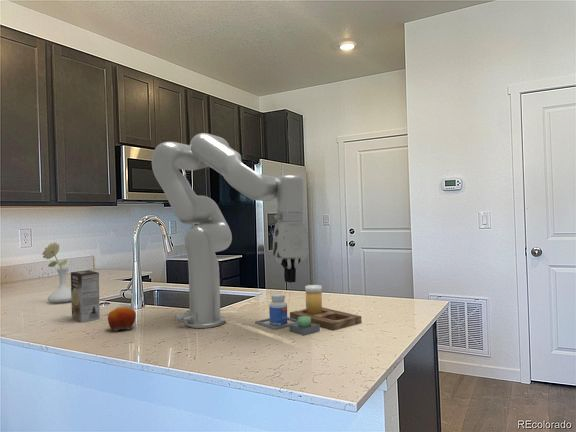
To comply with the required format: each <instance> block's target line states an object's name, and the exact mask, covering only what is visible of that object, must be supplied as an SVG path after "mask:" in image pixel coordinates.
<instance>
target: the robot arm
mask: <svg viewBox="0 0 576 432" xmlns="http://www.w3.org/2000/svg"><path fill="white" fill-rule="evenodd" d="M151 157H152V158H151V168H152V171H153V175H154V177H155V180H156V181H157V183H158V184H159V186H160V187H161V189H162V190H163V192H164V194H165V197H166V199H167V201H168V203H169V204H170V207H171V209H172V211H173V213H174V215H175V216H176V218H177V220H178V221H179V222H180V223H182V224H184V225H192V226H191V227H190V228H189V229H188V230H187V231H186V233H185V236H184V246H185V249H186V250H185V251H186V256H187V265H188V267H187V268H188V291H189V292H188V295H189V296H188V297H189V309H186V312H184V313H183V314H177V315H175V316H174V320H175V322H184V325H185V326H186V327H187V328H191V329H192V328H193V329H206V328H213V327H218V326H222V325H224V324H225V323H226V317H225V316H222V315H221V291H220V289H221V288H220V287H221V286H220V285H221V283H220V265H219V260H218V257H217V255H216V253H218V252H222V251H225V250H227V249H228V248H229V247H230V245H231V244H232V241H233V236H232V231H231V229H230V226H229V224H228V222H227V221H226V219H225V217H224V215H223V213H222V211H221V209H220V207H219V206H218V204H217V203H216V201H215V200H213V199H212V198H211V197H210V196H209V197H208V196H206V195H197V194H196V191H194V189H193V188H192V185H191V184H190V182H189V180H188V178H186V176H185V175H184V174H183V173H181V171H180V170H184V171H197V170H201V169H204V168H208V167H210V168H211V169H213V170H214V171H216V172H217V173H219V174H220V175H221V176H223V179H224V180H225V181H226V182H227V183H228V184H229V185H230V186H231V187H232V188H233V189H235V190H236V191H237V192H239V193H240V194H242V195H244V196H245V197H247V198H248V199H250V200H252V201H259V202H260V201H261V202H275V201H277V202H276V205H277V206H276V207H277V209H276V210H277V211H276V212H277V213H276V214H274V217H273V218H274V219H275V220H276V221H277V223H275V224H274V230H273V237H272V255H273V256H274V258H273V261H274V262H275V263H276V264H277V263H278V264H280V265H281V267H282V268H283V271H284V272H283V273H284V274H283V275H284V276H283V277H284V282H286V283H289V284H291V283H296V282H297V281H296V279H297V272H296V271H297V270H296V269H297V268H298V266H299V264H300V262H303V261H305V260H306V257H307V256H308V255H309V237H308V236H309V235H308V229H307V224H306V223H305V222H304V178H303V177H302V176H301V175H293V174H292V175H291V174H289V175H288V174H286V175H280V176H279V177H278V176H272V175H266V174H260V173H259V172H257V171H255V170H253V169H252V168H250V167H249V166H247V165H246V164H244V163H243V162H242V155H241V153H239V152H238V151H236V150H234V149H233V148H232V147H230V144H229V143H228V141H227V140H226V139H225V138H223V137H220V136H218V135H215V134H212V133H208V132H206V133H205V132H201V133H197V134H195V135H194V136H193V137H192V139H191V140H190V143H189V144H185V143H181V142H176V141H165V142H161V143H159V144H158V145H157V146H156V147H155V148H154V150H153V153H152V156H151Z"/></svg>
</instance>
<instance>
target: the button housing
mask: <svg viewBox="0 0 576 432" xmlns="http://www.w3.org/2000/svg"><path fill="white" fill-rule="evenodd" d="M293 323H294V322H293ZM289 324H290V323H289ZM289 326H290V327H289V332H291V333H294V334H298V335H300V336H307V335H310V334H312V335H313V334H315V333H318V332H320V331H321V327H320V325H319V324H315V323H312V322H311V325H310V326H299V325H298V323H294V324H290V325H289Z"/></svg>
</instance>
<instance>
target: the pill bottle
mask: <svg viewBox="0 0 576 432" xmlns="http://www.w3.org/2000/svg"><path fill="white" fill-rule="evenodd" d="M285 296H286V295H285V294H283V293H274V294H272V295H271V297H270V298H271V302H270V303H269V305H268V306H269V307H268V310H269V318H270V321H269V325H271V326H275V327H277V326H282V325H286V324H288V320H287V317H288V302H287V301H285V299H286V297H285Z"/></svg>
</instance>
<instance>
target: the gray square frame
mask: <svg viewBox="0 0 576 432" xmlns="http://www.w3.org/2000/svg"><path fill="white" fill-rule="evenodd" d="M287 321H289V322H290V323H287V324H286V325H282V326H273V325H270V324H268V323H267V322H270V317H268V318H264V319H259V320H255V321H254V323H255V324H256V325H259V326H262V327H265V328H269V329H271V330H274V331H276V330H277V331H278V330H279V329H285V328H290V326H289V325H290V324H294V323H298V320H296V319H292V318H290V316H289V317H288V316H287ZM265 322H266V323H265Z"/></svg>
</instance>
